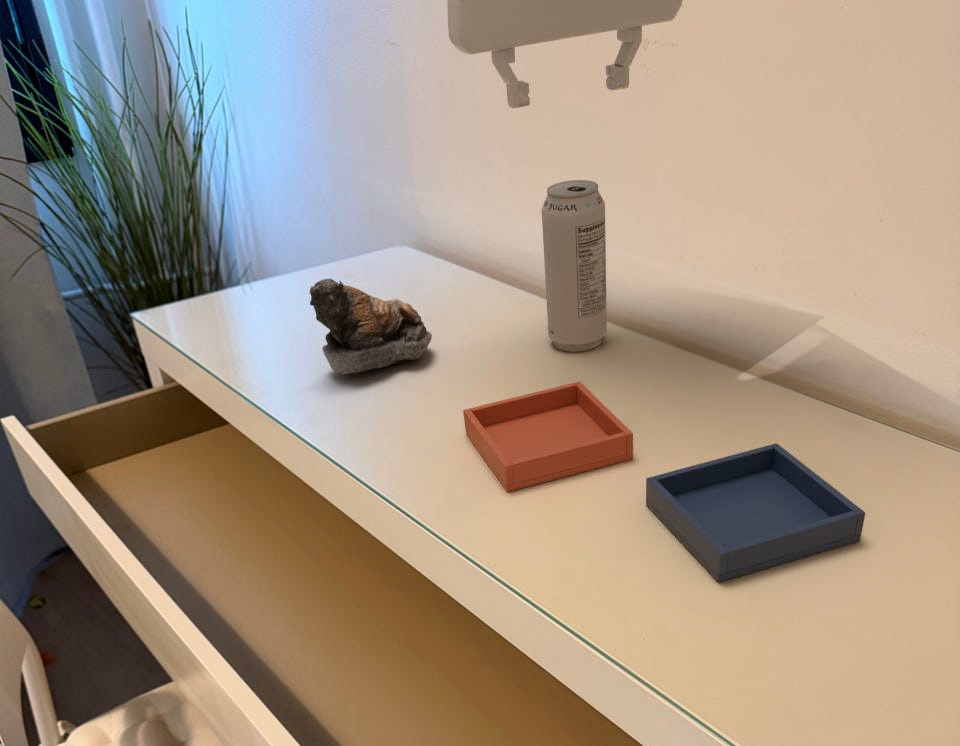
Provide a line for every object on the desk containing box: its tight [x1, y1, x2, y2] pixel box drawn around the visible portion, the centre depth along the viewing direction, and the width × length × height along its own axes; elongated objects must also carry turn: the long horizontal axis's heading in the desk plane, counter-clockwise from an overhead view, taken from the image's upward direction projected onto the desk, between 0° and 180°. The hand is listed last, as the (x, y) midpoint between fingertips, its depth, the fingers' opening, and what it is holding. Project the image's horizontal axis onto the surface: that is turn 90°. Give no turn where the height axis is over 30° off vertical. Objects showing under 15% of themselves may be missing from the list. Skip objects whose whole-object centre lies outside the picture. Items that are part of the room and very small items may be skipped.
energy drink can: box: [541, 179, 608, 353], centre depth 92 cm, size 6×6×15 cm
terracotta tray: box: [462, 381, 634, 493], centre depth 80 cm, size 11×11×2 cm
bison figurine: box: [309, 278, 433, 375], centre depth 94 cm, size 12×7×10 cm, turn 122°
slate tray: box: [645, 442, 866, 583], centre depth 68 cm, size 11×11×2 cm
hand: (568, 97), depth 82 cm, fingers open, 8 cm apart
